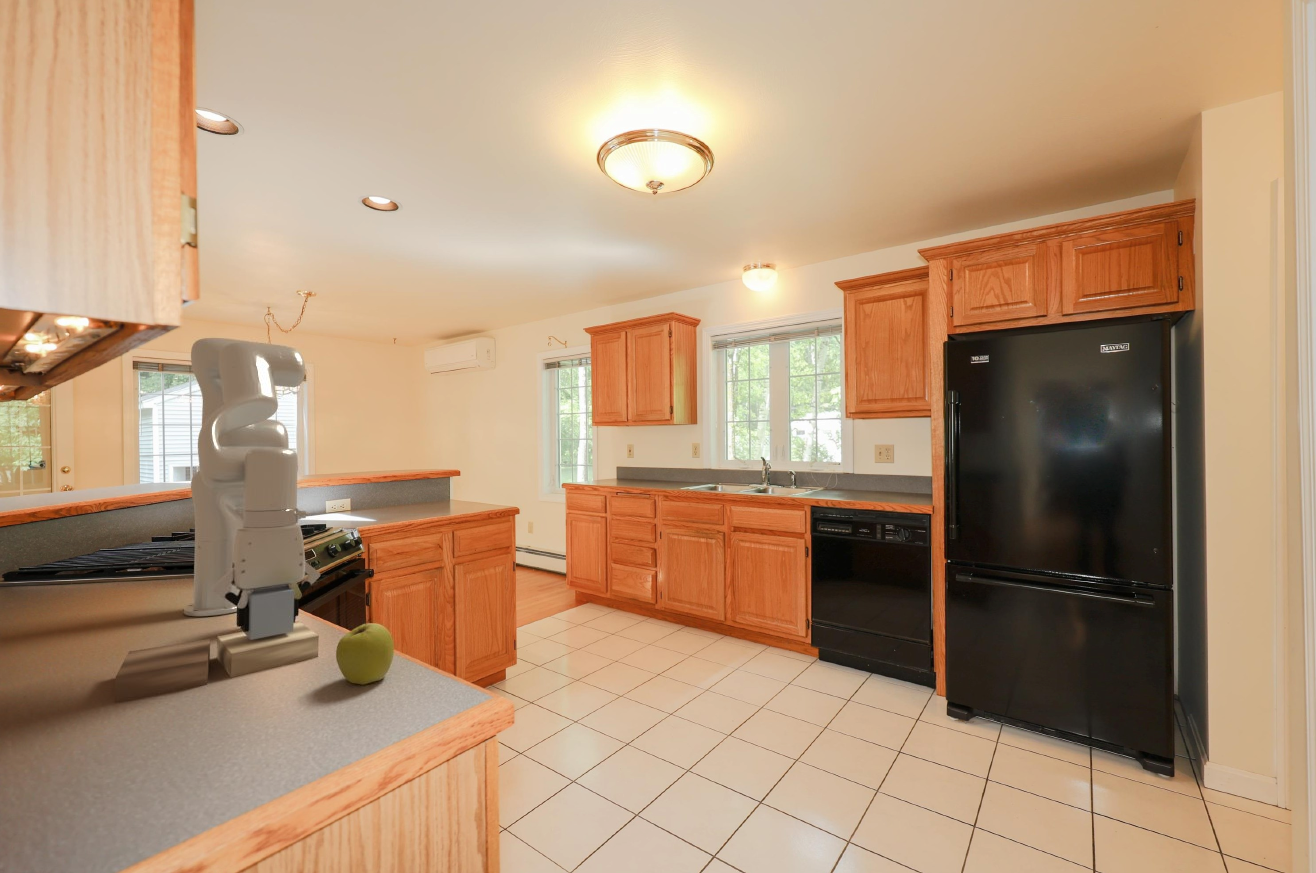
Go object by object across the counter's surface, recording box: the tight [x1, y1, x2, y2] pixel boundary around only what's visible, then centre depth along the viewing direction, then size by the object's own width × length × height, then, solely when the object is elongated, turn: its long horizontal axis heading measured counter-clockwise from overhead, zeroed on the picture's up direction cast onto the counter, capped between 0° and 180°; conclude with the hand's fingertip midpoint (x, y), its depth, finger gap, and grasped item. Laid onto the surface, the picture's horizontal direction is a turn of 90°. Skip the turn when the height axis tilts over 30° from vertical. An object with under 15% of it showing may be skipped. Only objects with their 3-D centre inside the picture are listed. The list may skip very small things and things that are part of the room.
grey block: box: [244, 585, 294, 640], centre depth 96 cm, size 6×6×7 cm
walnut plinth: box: [114, 638, 211, 703], centre depth 86 cm, size 12×10×4 cm
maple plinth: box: [216, 620, 320, 678], centre depth 96 cm, size 12×12×4 cm
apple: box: [335, 617, 395, 685], centre depth 86 cm, size 8×8×10 cm
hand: (268, 624), depth 96 cm, fingers closed on grey block, 5 cm apart
